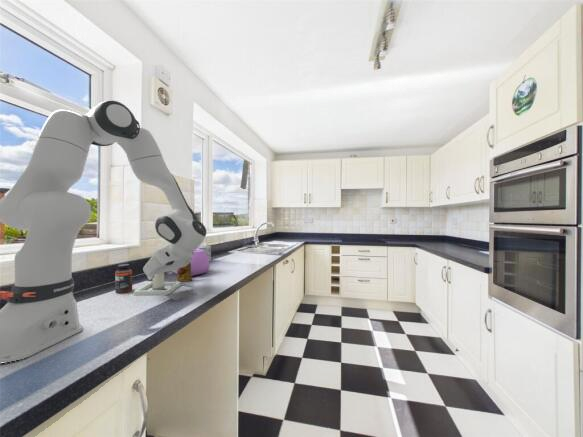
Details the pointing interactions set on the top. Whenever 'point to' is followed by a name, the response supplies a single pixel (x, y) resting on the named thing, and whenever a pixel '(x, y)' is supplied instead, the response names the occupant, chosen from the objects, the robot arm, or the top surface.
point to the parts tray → (157, 292)
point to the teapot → (198, 263)
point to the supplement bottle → (123, 279)
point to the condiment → (184, 273)
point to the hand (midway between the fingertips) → (159, 275)
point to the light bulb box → (207, 250)
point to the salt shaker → (158, 282)
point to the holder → (181, 295)
